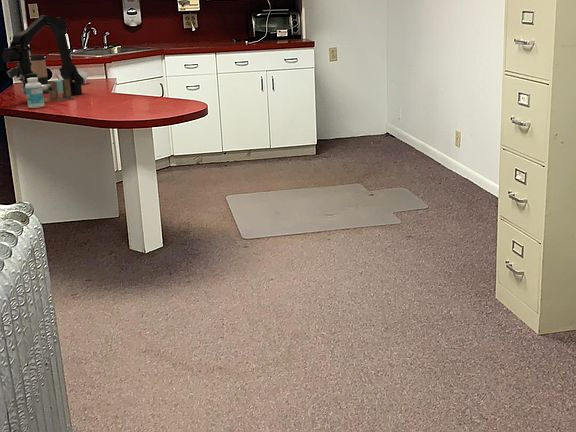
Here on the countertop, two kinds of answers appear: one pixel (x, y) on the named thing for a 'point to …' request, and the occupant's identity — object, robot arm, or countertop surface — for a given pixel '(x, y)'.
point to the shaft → (44, 88)
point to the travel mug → (40, 69)
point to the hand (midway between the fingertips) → (28, 93)
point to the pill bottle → (34, 93)
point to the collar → (59, 86)
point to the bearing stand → (54, 91)
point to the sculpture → (79, 73)
